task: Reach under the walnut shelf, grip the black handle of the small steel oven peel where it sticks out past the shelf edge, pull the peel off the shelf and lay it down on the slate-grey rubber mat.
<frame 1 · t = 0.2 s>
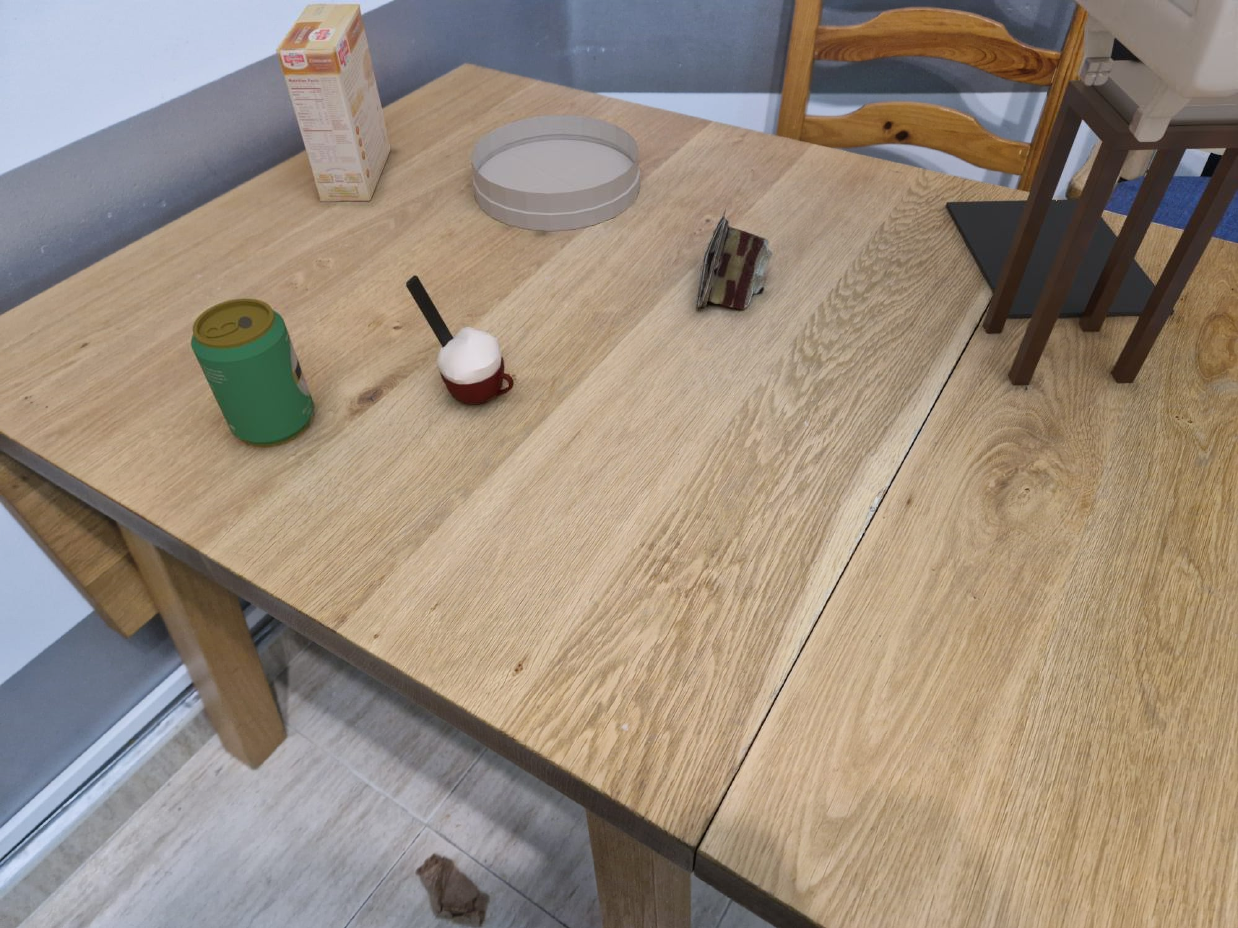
hand: (1115, 108, 63), 29 cm above the table, tool pointing down, fingers open, 8 cm apart
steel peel: (1138, 79, 74), point 26 cm above the table, touching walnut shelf
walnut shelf: (1054, 352, 90), on the table
cocoa: (474, 391, 87), on the table
coffeecake box: (357, 176, 119), on the table
dish: (557, 188, 115), on the table
rubber mat: (1049, 256, 102), on the table
chocolate cake: (733, 288, 99), on the table
beverage can: (275, 422, 84), on the table
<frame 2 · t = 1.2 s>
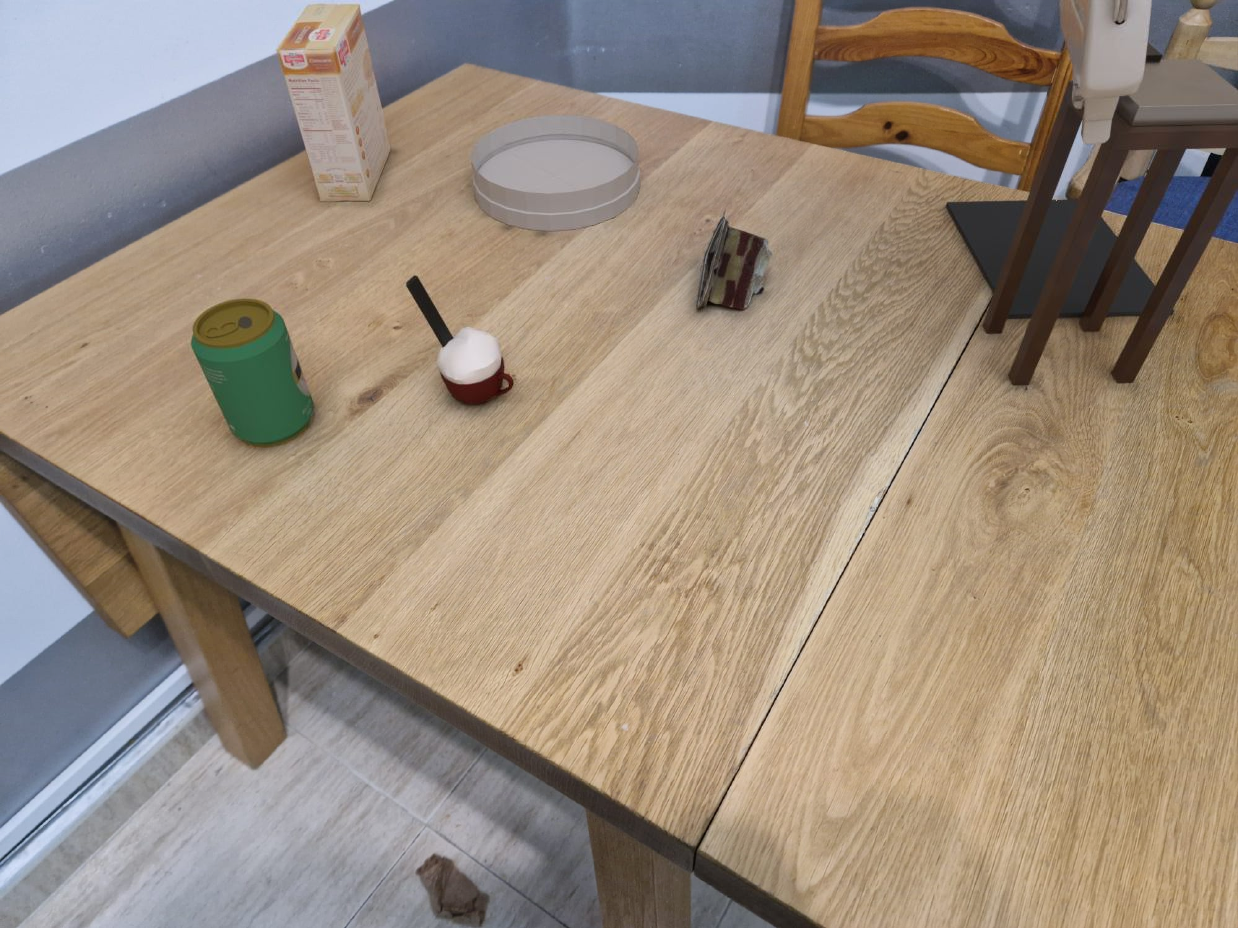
hand: (1088, 122, 68), 26 cm above the table, tool pointing down, fingers open, 7 cm apart
nothing on the table moved.
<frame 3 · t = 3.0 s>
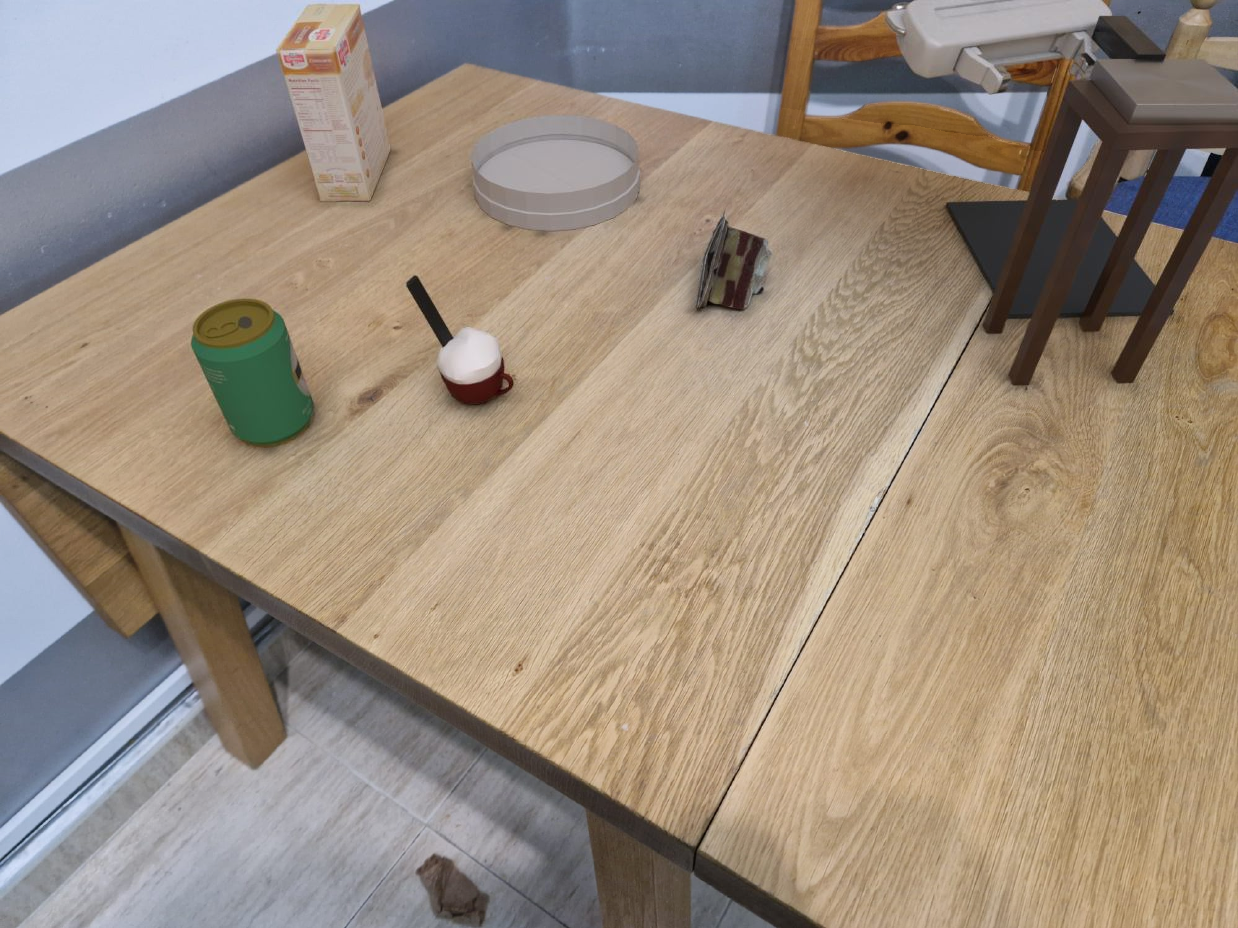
hand: (1046, 80, 78), 24 cm above the table, tool horizontal, fingers open, 8 cm apart
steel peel: (1141, 78, 74), point 26 cm above the table, touching gripper, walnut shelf
everything else where it was.
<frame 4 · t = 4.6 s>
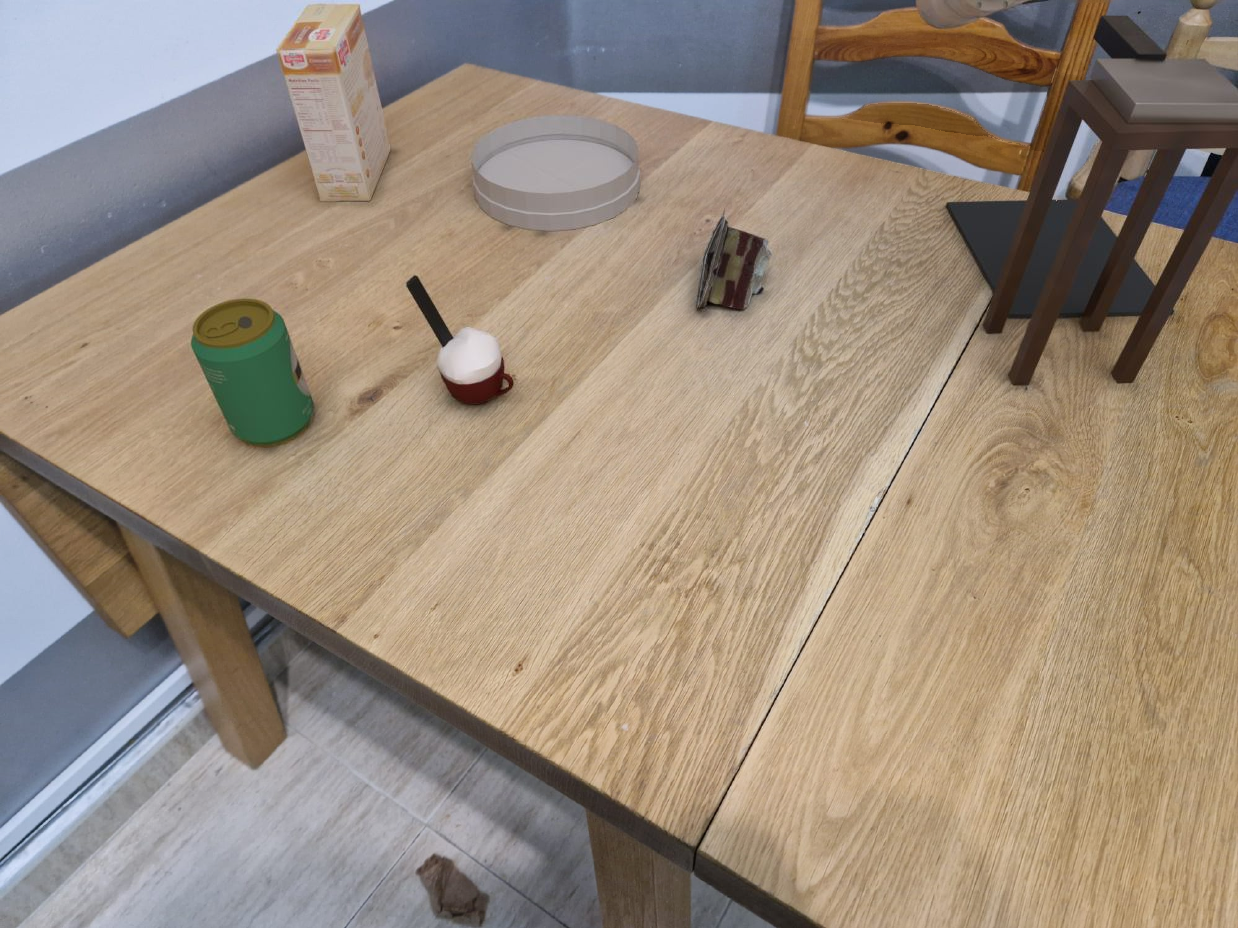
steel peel: (1142, 77, 74), point 26 cm above the table, touching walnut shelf
everything else where it was.
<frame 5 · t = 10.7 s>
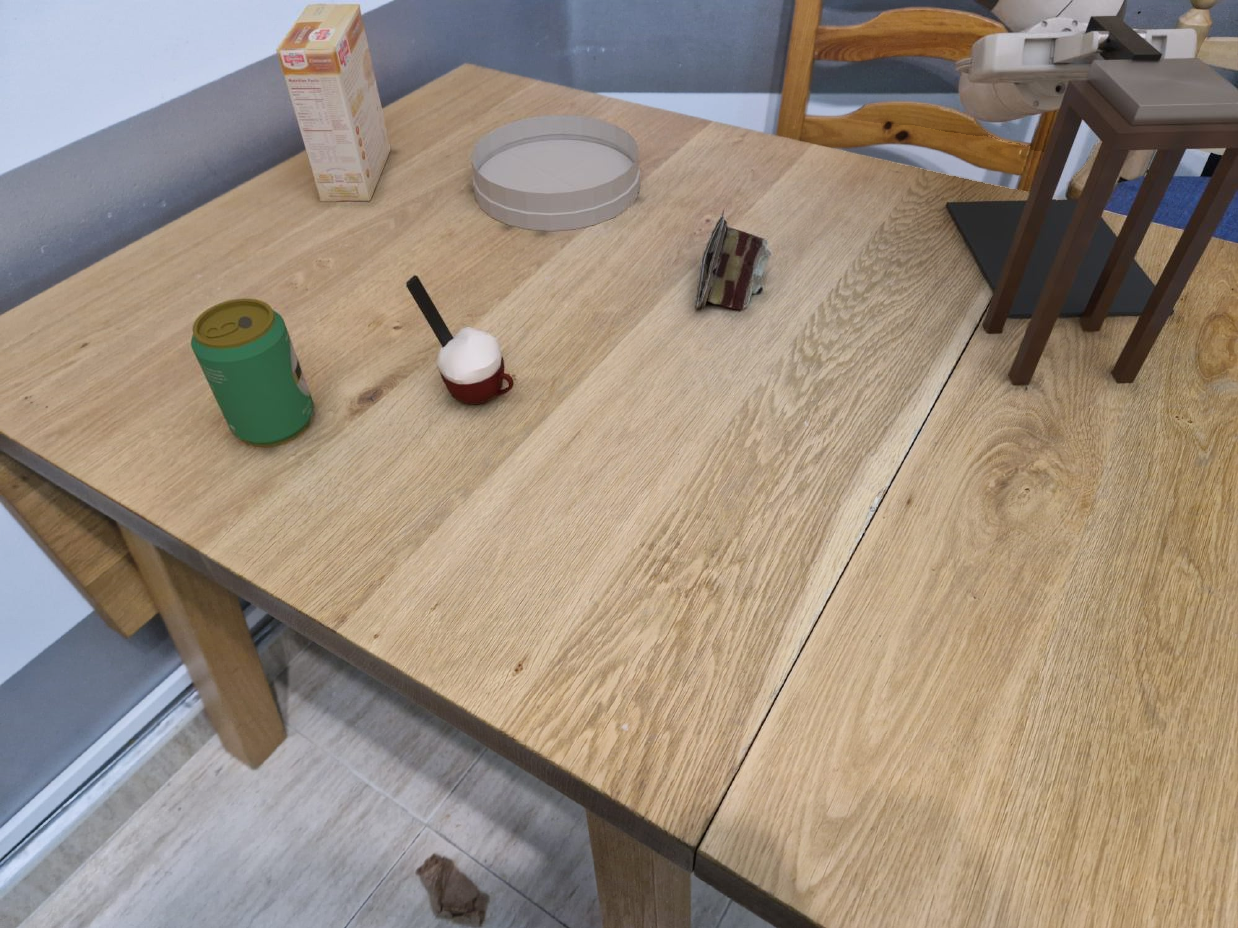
hand: (1122, 40, 77), 27 cm above the table, tool pointing upward, fingers closed on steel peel, 2 cm apart
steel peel: (1138, 78, 74), point 26 cm above the table, touching gripper, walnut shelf
everything else where it was.
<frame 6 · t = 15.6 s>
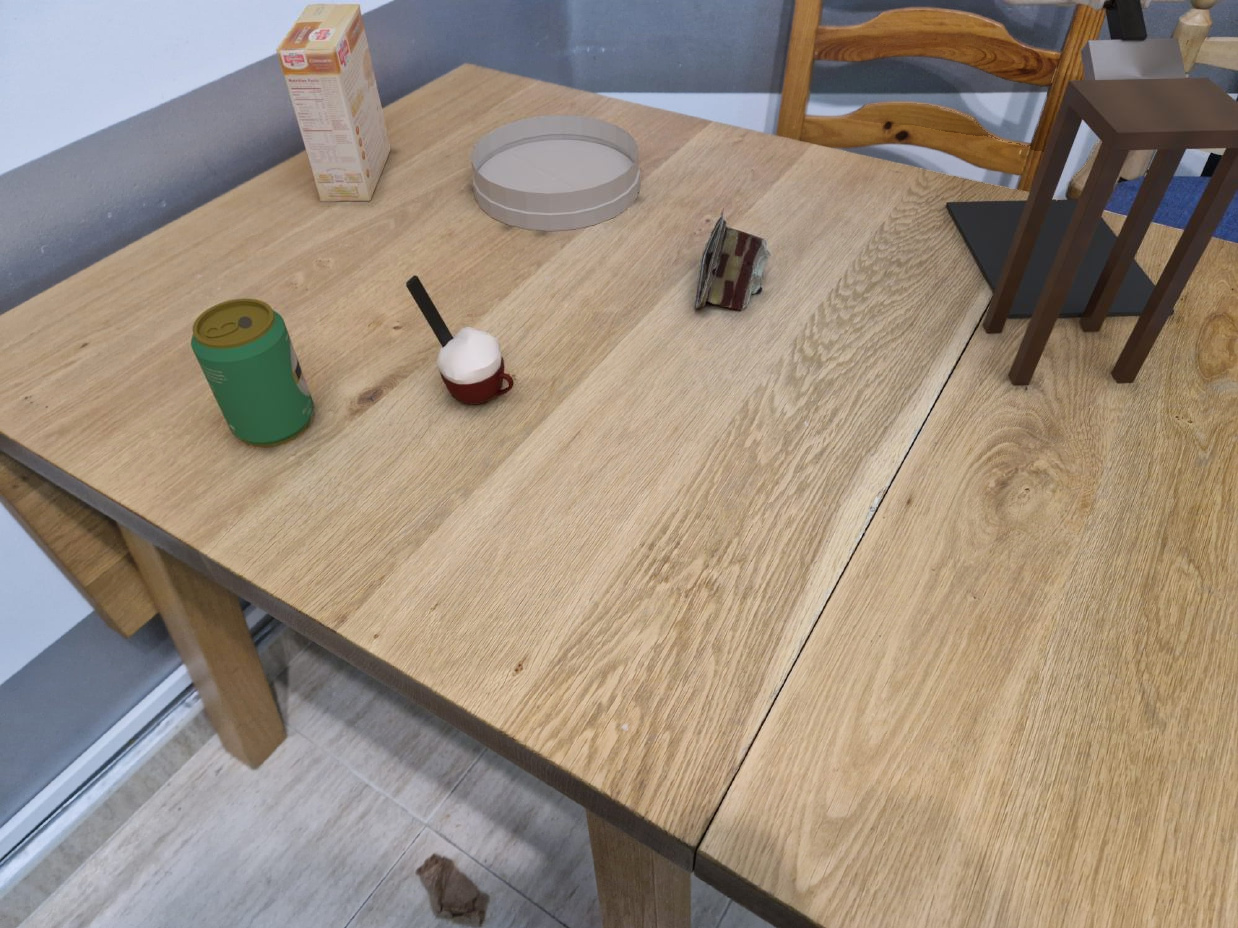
hand: (1125, 2, 88), 26 cm above the table, tool horizontal, fingers closed on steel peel, 2 cm apart
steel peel: (1124, 50, 88), point 22 cm above the table, tilted 30°, touching gripper
everything else where it was.
when the fingers open (9 cm above the table, at t = 20.5 s): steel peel drops 4 cm, resting on rubber mat.
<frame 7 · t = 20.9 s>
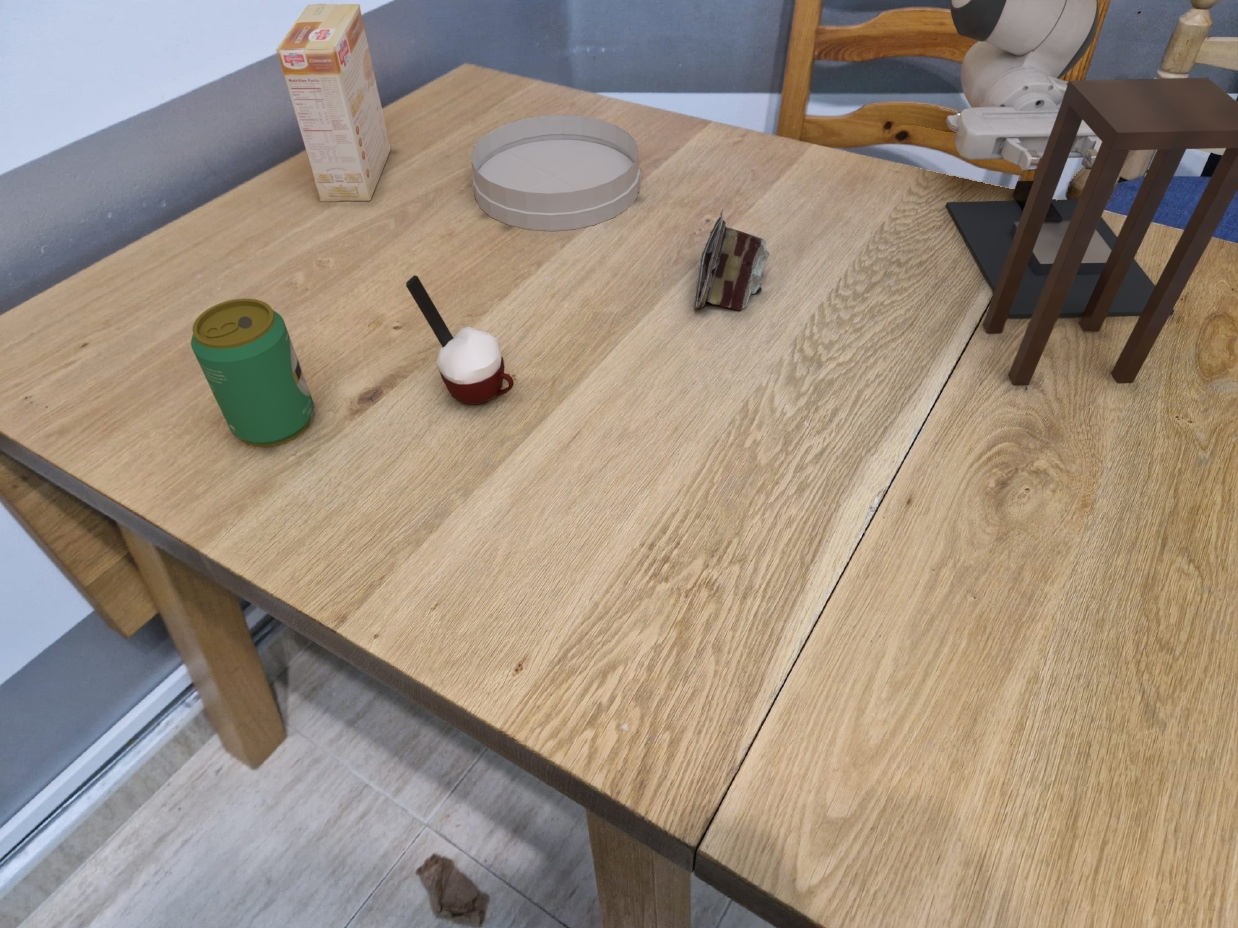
hand: (1064, 164, 100), 8 cm above the table, tool horizontal, fingers open, 6 cm apart
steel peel: (1046, 232, 104), point 1 cm above the table, touching rubber mat
everything else where it was.
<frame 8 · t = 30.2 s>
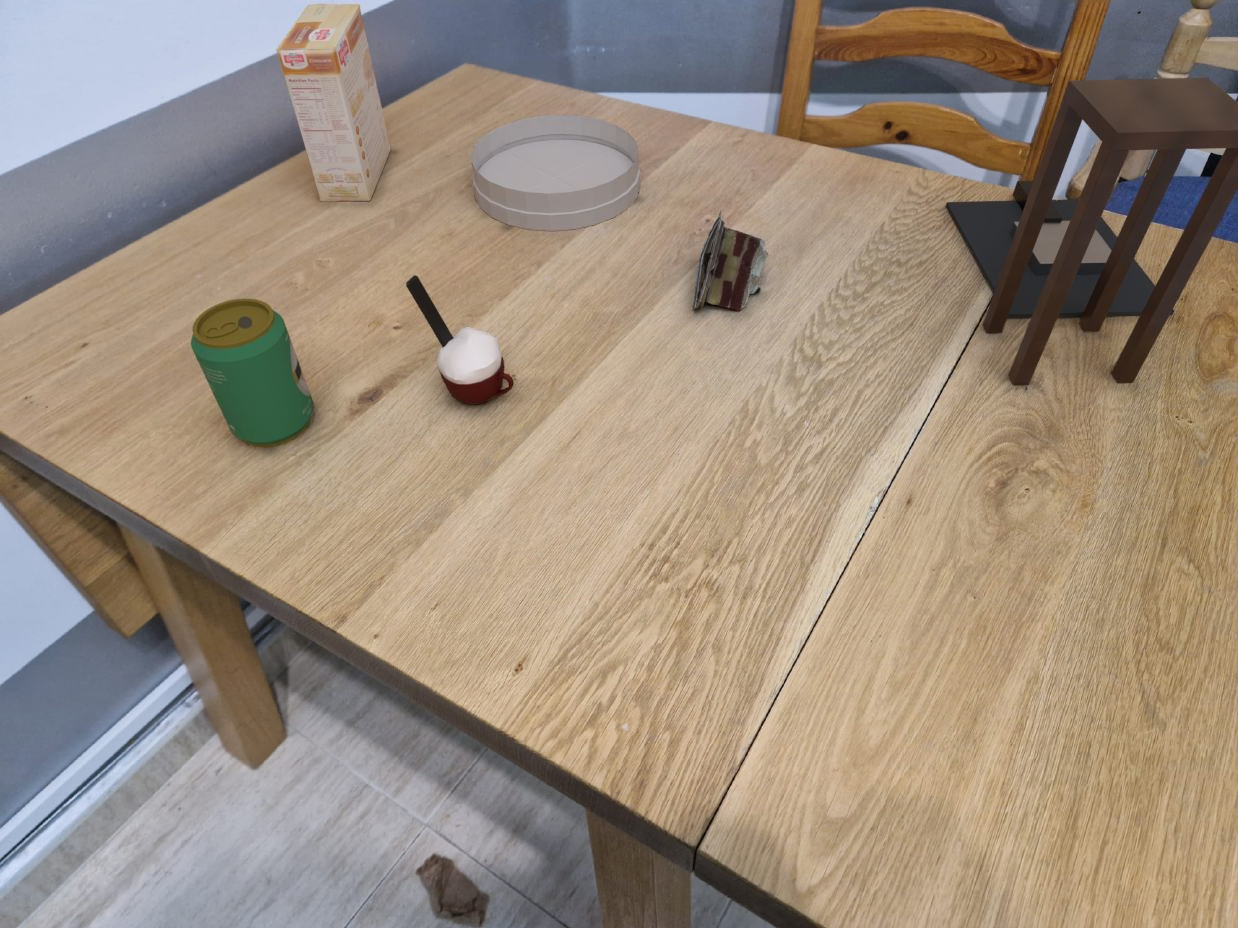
nothing on the table moved.
at the end: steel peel inside the target area on the rubber mat (4.3 cm from its centre), point 0.6 cm above the rubber mat's base; the gripper is holding nothing; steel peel tilted 0° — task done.
